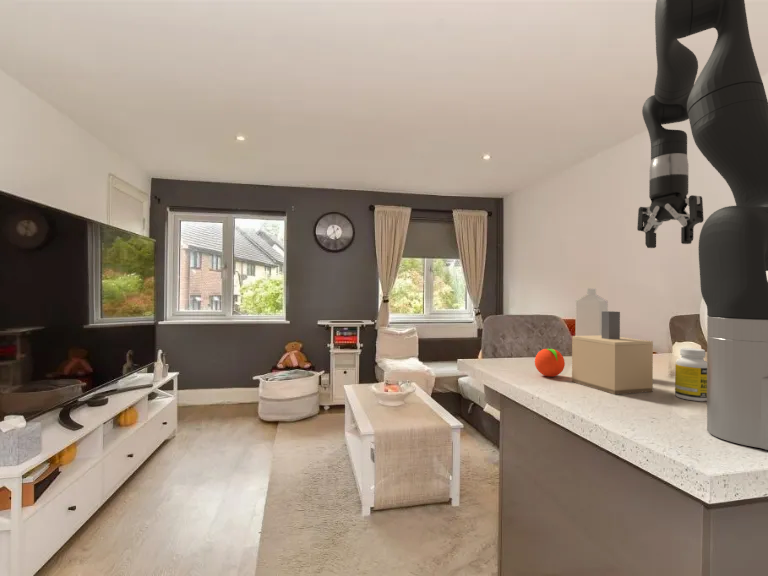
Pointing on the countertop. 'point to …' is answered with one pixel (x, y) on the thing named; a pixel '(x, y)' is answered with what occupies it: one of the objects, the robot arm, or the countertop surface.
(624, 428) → the countertop surface
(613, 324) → the lid
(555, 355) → the clementine
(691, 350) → the supplement bottle
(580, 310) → the milk
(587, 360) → the carton
